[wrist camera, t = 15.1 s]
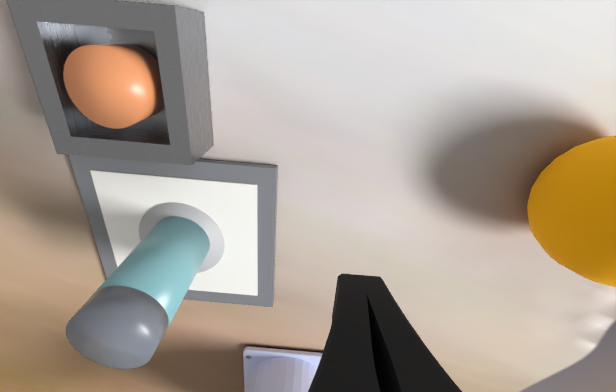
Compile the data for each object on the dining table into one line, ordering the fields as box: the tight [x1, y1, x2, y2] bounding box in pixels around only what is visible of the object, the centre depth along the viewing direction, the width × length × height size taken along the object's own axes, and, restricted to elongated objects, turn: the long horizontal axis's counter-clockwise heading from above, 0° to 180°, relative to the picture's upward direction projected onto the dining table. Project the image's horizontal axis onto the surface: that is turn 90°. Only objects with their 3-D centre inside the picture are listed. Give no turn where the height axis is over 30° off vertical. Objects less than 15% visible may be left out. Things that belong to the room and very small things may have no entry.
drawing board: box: [68, 155, 278, 307], centre depth 21 cm, size 12×13×1 cm
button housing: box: [7, 0, 213, 165], centre depth 15 cm, size 7×7×3 cm
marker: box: [66, 216, 210, 369], centre depth 18 cm, size 4×4×8 cm
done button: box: [63, 44, 165, 129], centre depth 15 cm, size 4×4×2 cm
